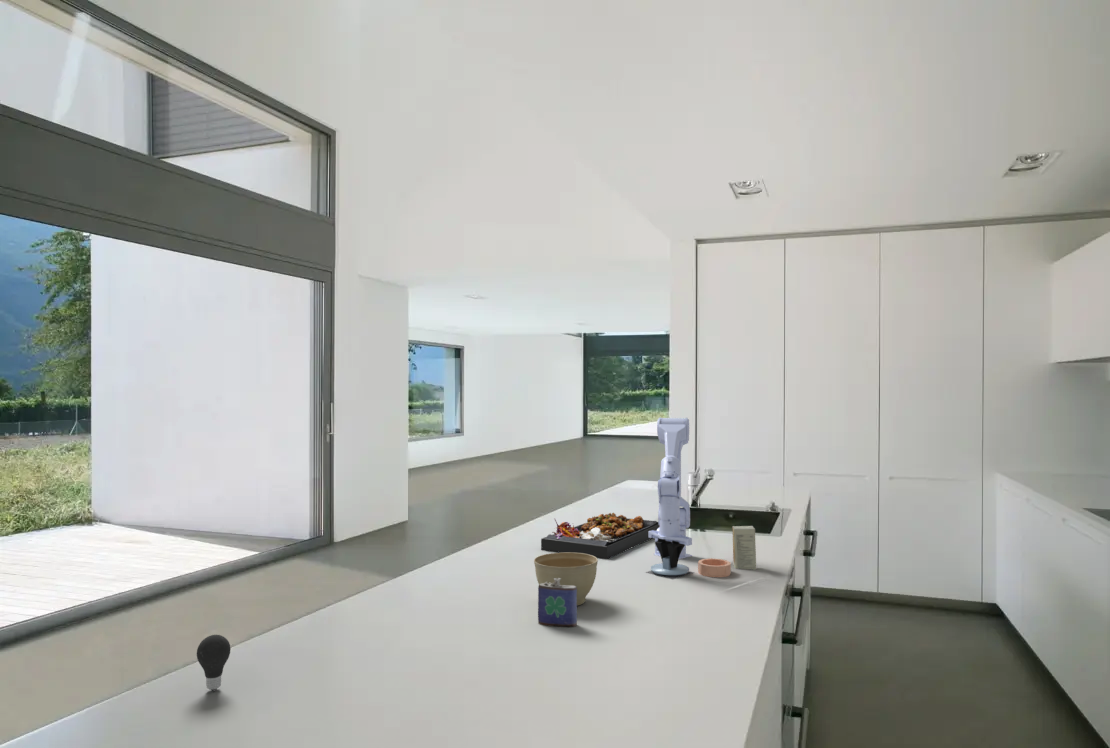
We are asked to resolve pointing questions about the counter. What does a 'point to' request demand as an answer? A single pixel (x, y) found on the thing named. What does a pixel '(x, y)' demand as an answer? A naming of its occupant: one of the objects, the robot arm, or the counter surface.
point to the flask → (557, 604)
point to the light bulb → (213, 659)
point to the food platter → (600, 535)
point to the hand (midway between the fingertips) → (669, 566)
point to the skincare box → (744, 547)
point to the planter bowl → (568, 571)
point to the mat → (670, 575)
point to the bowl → (714, 567)
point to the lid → (669, 568)
